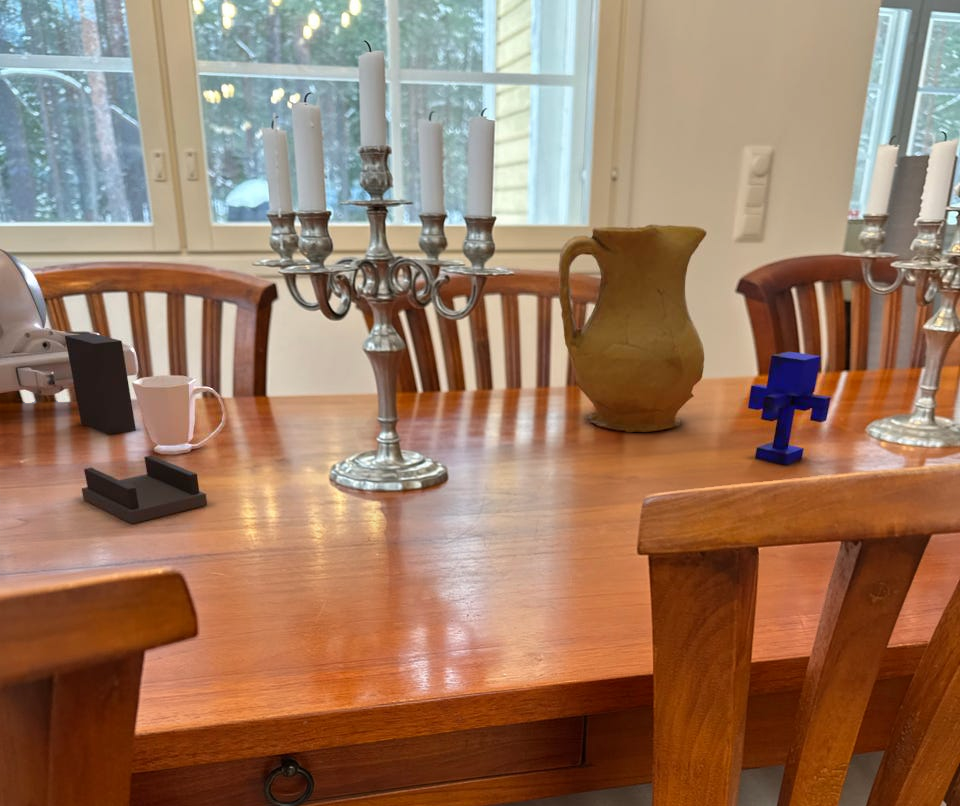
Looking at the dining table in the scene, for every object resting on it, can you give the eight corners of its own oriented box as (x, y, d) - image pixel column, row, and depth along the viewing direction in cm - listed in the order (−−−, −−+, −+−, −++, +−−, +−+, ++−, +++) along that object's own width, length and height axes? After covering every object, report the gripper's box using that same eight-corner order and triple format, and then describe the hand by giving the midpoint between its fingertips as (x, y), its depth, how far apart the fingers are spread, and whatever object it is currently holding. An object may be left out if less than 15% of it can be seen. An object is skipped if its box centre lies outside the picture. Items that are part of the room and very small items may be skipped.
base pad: (132, 524, 84) (126, 491, 82) (83, 499, 90) (77, 468, 88) (207, 505, 89) (203, 473, 87) (156, 483, 95) (152, 453, 93)
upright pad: (109, 434, 112) (94, 343, 107) (81, 423, 117) (64, 335, 112) (136, 430, 114) (121, 340, 109) (106, 419, 119) (91, 333, 114)
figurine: (799, 451, 111) (818, 350, 106) (819, 468, 104) (841, 362, 99) (738, 449, 111) (754, 349, 106) (755, 467, 104) (773, 360, 99)
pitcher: (672, 441, 112) (688, 221, 102) (541, 427, 121) (544, 225, 111) (716, 419, 126) (734, 222, 115) (595, 408, 135) (602, 225, 125)
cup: (140, 444, 108) (129, 376, 105) (225, 438, 112) (217, 371, 108) (145, 460, 102) (133, 388, 99) (233, 452, 106) (226, 383, 102)
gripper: (-47, 345, 115) (-5, 359, 107) (105, 330, 129) (153, 342, 120) (-35, 394, 118) (7, 412, 110) (112, 375, 132) (160, 389, 123)
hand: (85, 375), depth 115 cm, fingers open, 8 cm apart
